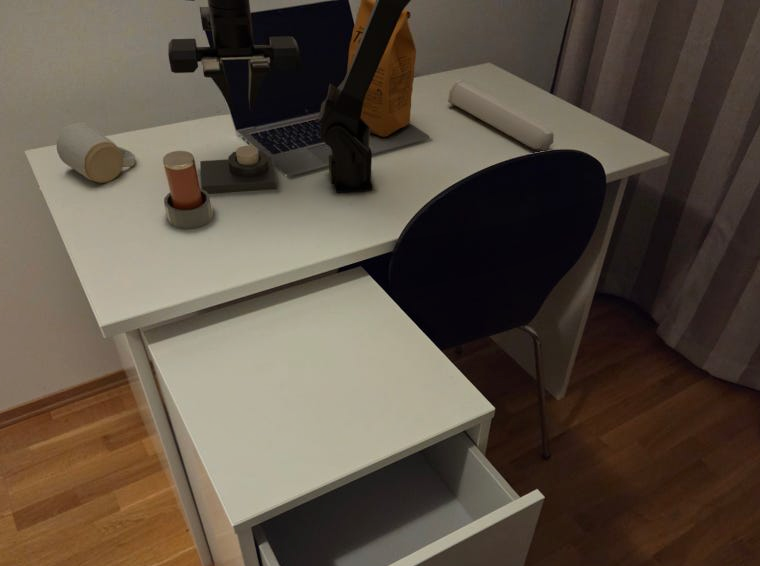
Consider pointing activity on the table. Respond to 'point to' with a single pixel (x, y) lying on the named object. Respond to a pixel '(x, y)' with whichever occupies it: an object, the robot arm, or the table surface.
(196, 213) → the capsule holder
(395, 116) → the coffee package
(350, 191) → the robot arm
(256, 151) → the release button
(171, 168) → the orange metal cylinder
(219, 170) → the plate with ring holder
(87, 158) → the ceramic mug
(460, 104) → the tube
